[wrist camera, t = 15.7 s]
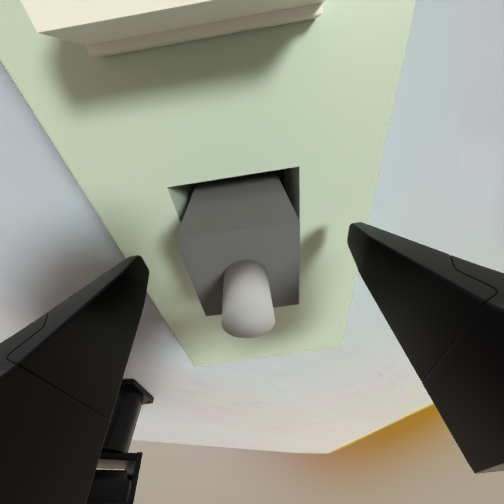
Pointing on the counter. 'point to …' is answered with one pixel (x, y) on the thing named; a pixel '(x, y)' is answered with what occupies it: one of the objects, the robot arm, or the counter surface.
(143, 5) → the shutter
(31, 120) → the counter surface
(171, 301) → the socket
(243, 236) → the plug
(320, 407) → the counter surface
